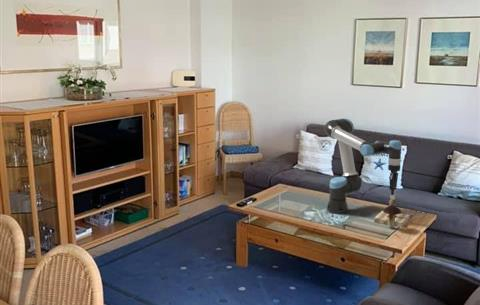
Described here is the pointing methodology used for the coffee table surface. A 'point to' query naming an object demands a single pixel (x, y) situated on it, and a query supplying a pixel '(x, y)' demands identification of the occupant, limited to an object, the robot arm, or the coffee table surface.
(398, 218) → the board
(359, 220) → the coffee table surface
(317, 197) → the coffee table surface
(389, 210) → the decorative mushroom
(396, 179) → the robot arm
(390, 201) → the peg
